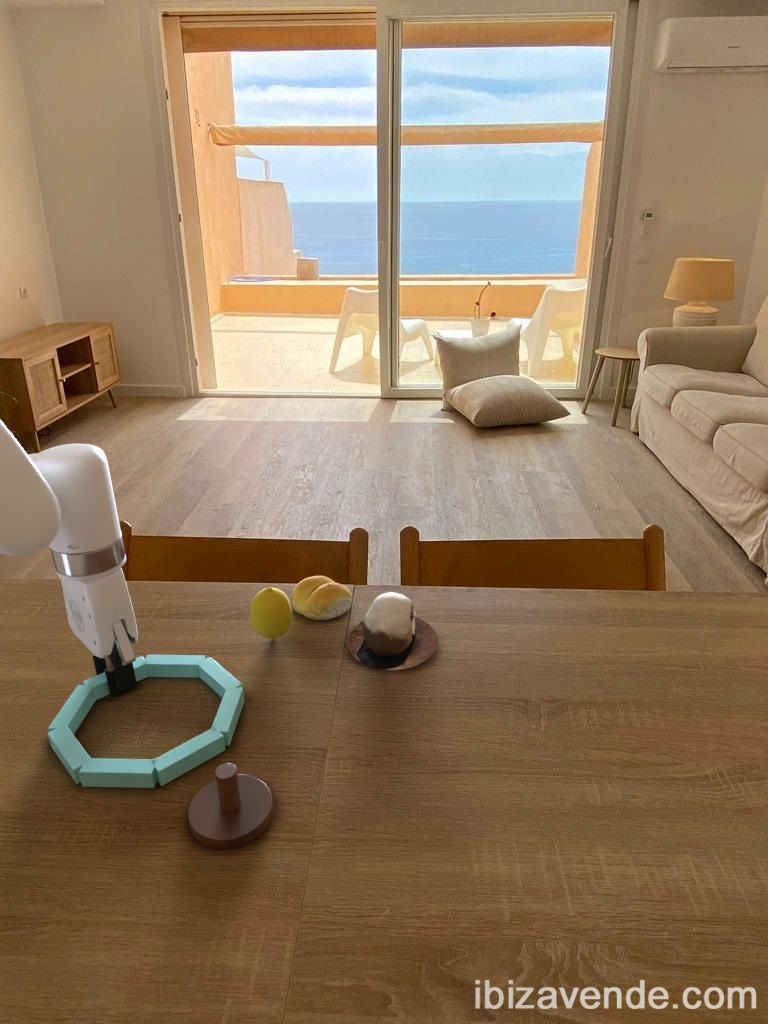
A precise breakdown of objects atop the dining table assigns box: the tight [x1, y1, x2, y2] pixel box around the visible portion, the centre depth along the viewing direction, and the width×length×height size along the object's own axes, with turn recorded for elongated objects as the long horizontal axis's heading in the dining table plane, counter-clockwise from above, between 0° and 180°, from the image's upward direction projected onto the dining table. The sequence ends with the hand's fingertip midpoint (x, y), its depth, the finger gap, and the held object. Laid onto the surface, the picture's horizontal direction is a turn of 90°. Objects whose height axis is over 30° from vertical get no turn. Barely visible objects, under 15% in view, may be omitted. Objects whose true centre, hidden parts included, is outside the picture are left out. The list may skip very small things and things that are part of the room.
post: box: [187, 762, 274, 850], centre depth 66 cm, size 8×8×6 cm
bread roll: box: [290, 575, 353, 621], centre depth 101 cm, size 8×9×4 cm
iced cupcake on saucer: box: [347, 591, 438, 671], centre depth 93 cm, size 12×10×10 cm
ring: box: [47, 654, 245, 789], centre depth 80 cm, size 20×20×2 cm
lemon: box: [249, 586, 293, 640], centre depth 93 cm, size 6×6×8 cm
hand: (117, 683), depth 86 cm, fingers closed
